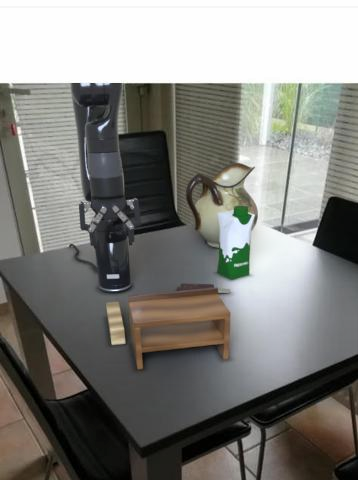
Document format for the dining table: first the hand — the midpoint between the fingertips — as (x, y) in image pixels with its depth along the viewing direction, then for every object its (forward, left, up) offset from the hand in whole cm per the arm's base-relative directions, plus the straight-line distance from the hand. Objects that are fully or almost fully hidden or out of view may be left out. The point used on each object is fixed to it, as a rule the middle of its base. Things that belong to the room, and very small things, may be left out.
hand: (112, 245), depth 116 cm
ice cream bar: (-7, +24, -18) cm, 31 cm away
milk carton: (-19, +36, -18) cm, 44 cm away
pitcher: (-48, +41, -18) cm, 65 cm away
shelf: (+24, +11, -17) cm, 32 cm away
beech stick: (+10, -2, -17) cm, 20 cm away
